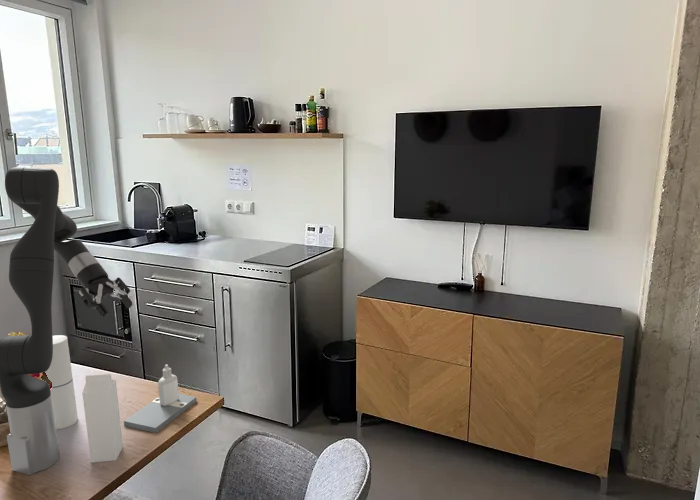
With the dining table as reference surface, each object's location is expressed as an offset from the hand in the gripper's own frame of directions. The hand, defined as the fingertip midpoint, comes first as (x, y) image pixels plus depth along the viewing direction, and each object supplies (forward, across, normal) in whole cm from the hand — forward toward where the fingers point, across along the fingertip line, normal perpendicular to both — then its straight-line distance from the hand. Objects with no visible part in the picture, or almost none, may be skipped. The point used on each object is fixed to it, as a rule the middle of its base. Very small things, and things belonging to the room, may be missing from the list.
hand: (118, 310), depth 148 cm
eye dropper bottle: (+31, +1, +8) cm, 32 cm away
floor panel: (+32, -2, +9) cm, 33 cm away
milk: (+34, -23, +7) cm, 42 cm away
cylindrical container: (+16, -18, +24) cm, 34 cm away
